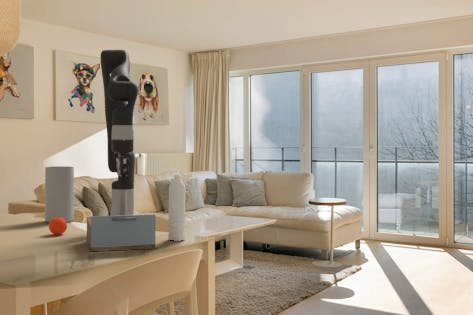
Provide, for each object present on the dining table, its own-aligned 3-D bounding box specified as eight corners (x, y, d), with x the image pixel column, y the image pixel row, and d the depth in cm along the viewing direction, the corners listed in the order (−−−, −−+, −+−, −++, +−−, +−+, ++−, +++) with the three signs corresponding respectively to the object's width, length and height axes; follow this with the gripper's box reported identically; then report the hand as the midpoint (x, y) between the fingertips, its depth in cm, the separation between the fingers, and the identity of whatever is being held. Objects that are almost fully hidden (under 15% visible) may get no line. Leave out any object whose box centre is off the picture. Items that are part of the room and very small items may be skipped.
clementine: (49, 233, 225) (49, 215, 224) (67, 232, 226) (67, 215, 226) (48, 236, 217) (48, 218, 217) (66, 235, 219) (67, 217, 219)
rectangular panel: (90, 246, 188) (91, 216, 187) (154, 243, 194) (155, 214, 194) (91, 247, 185) (91, 217, 185) (155, 244, 192) (156, 215, 192)
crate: (86, 241, 207) (86, 217, 207) (146, 238, 214) (146, 215, 213) (90, 251, 188) (90, 225, 188) (155, 248, 195) (155, 223, 194)
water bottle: (169, 241, 208) (170, 174, 208) (166, 238, 215) (167, 173, 214) (192, 240, 211) (193, 174, 210) (189, 237, 217) (189, 173, 216)
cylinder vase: (39, 221, 256) (39, 167, 255) (62, 218, 266) (62, 166, 265) (56, 224, 248) (56, 168, 248) (79, 221, 259) (79, 167, 258)
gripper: (109, 138, 200) (109, 185, 201) (113, 138, 187) (113, 188, 187) (130, 138, 203) (130, 185, 203) (136, 138, 189) (136, 188, 190)
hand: (122, 186), depth 195 cm, fingers open, 5 cm apart
